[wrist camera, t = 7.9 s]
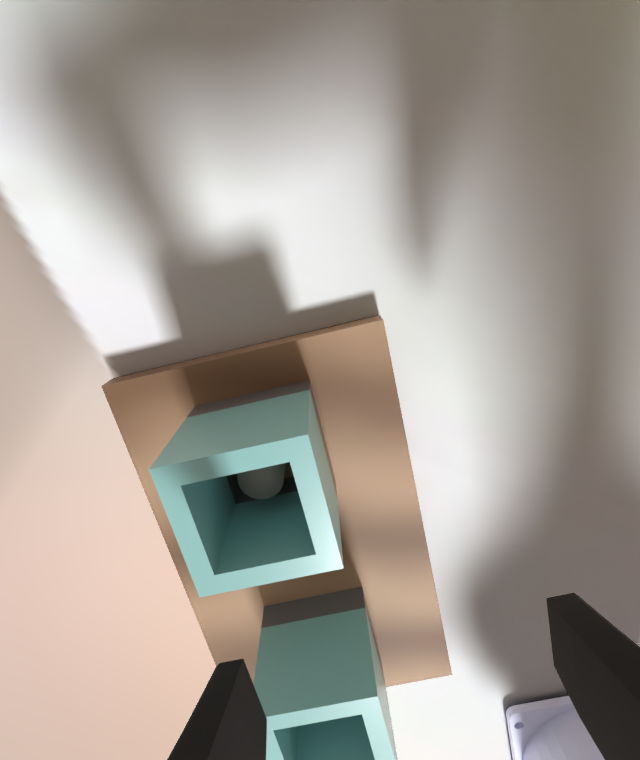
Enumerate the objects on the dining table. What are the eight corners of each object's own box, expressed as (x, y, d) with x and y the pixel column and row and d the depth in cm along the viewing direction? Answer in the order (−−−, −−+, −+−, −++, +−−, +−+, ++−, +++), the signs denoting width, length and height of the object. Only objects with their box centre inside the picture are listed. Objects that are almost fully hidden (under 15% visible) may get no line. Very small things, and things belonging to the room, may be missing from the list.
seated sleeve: (381, 661, 21) (401, 783, 16) (289, 678, 21) (282, 804, 17) (362, 586, 20) (377, 696, 15) (264, 606, 20) (248, 720, 15)
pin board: (446, 656, 22) (469, 729, 19) (239, 695, 23) (227, 772, 20) (379, 315, 17) (395, 333, 14) (113, 378, 18) (66, 410, 14)
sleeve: (335, 482, 18) (343, 568, 13) (229, 505, 18) (199, 597, 14) (309, 379, 17) (308, 434, 12) (195, 405, 17) (148, 469, 12)
